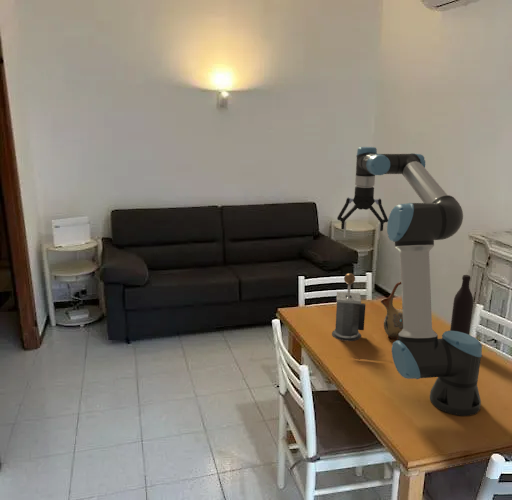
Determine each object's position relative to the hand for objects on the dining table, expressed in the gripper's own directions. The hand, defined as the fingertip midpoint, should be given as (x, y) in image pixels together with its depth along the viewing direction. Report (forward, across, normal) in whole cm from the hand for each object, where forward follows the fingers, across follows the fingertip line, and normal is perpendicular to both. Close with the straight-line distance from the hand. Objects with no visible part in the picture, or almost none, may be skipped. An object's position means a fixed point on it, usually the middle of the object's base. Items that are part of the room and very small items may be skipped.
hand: (361, 237), depth 202 cm
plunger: (+37, +4, +8) cm, 38 cm away
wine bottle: (+41, -40, +10) cm, 58 cm away
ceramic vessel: (+41, -17, +6) cm, 45 cm away
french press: (+40, +4, +8) cm, 41 cm away
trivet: (+41, +4, +8) cm, 42 cm away
